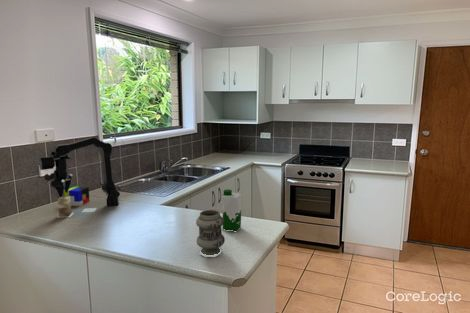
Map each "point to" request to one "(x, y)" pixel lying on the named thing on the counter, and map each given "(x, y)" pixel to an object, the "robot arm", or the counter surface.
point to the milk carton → (231, 210)
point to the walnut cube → (65, 212)
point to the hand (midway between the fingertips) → (63, 194)
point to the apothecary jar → (210, 231)
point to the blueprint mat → (80, 212)
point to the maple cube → (64, 202)
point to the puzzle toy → (78, 195)
